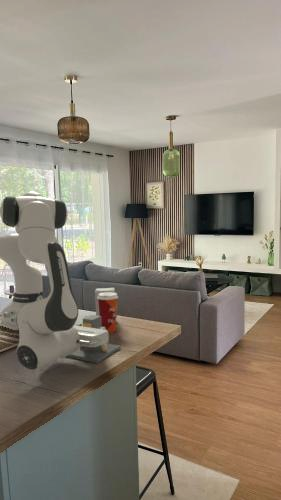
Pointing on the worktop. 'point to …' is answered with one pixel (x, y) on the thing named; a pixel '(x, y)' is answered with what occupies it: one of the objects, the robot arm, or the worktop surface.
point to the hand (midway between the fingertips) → (91, 327)
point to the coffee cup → (108, 310)
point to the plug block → (92, 322)
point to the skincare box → (97, 292)
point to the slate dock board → (96, 356)
